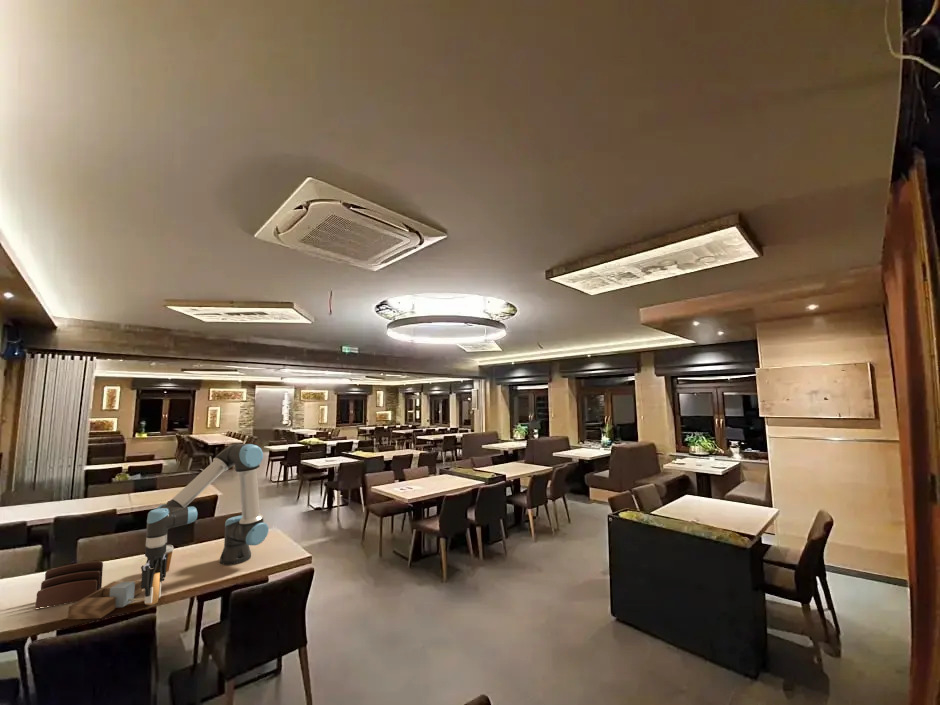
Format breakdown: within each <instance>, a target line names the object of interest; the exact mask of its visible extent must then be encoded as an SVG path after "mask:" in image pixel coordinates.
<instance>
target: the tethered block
mask: <svg viewBox="0 0 940 705" xmlns="http://www.w3.org/2000/svg"><path fill="white" fill-rule="evenodd" d="M133 581H134V582H120V583H118V584H117V585H115V586H113V587H111V588H110V597H116V601H115V608H124V607H125V606H127V605H129V604H130V603H132V602H142V601H143V602H145V597H144V598H143V597H142V598H135V596H134V590H135V581H136V580H133ZM159 581H160V572H155V573H154V578H153V583H152V587H153V598H152V603H151V604H145V606H152V605H155V604H157V603H158V602H159V598H158V597H159Z"/></svg>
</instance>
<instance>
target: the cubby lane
mask: <svg viewBox="0 0 940 705" xmlns="http://www.w3.org/2000/svg"><path fill="white" fill-rule="evenodd" d="M134 581H135V590H134V597H136V596H138V595H139V594H141V593H142V592H143V589H141V580H120V581H118V580H117V581H111V582H110V583H108V584H106V585H105V586H103V587H102V588H101V589H99V590H97V591H95V592H94V593H92V594H90V595H88V596H87V597H85V598H83V599H81V600H79V601H77V602H73V603H72V604H70V605H69V606H68V611H67V620H83V619H102V618H103V617H105V616H107V615H108V614H109V613H111V612H113V611H114V610H115V609H116V607H115V601H116V597H110V588H111V587H113V586H115V585H117V584H118V583H120V582H134ZM137 594H138V595H137Z"/></svg>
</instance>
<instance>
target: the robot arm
mask: <svg viewBox="0 0 940 705" xmlns="http://www.w3.org/2000/svg"><path fill="white" fill-rule="evenodd" d="M263 459H264V452H263V450H262V448H261V447H260V446H259V445H256V444H252V443H240V442H239V443H234V444H231V445H228V447H226V448H224V449H223V450H221V451H220V452H219V453H218V454H217V455H216V456H215V457H214V458H213V459H212V462H211V463H210V464H209V465H208V466H207V467H206V468H205V469H203V470H202V471H201V472H200V473H199V474H198V475H197V476H195V477H194V478H193V479H192V480H191V481H190V482H189V483H188V484H187V485H185V487H184V488H182V489H181V491H179V492H178V493H177V494H176V495H175V496H173V497H172V498H171V499H170V500H169V501H168V502H167V503H164V504H161V505H158V506H157V508H155V509H152V510H150V511H149V512H148V513H147V518H146V536H145V549H144V550H145V551H144V556H145V557H146V559H147V560H146V562H145V564H144V565H141V566H140V569H141V580H140V581H141V589H142V590H144V598H145V601H144V604H145V605H146V604H151V603H152V598H153V587H152V583H153V578H154V573H155V572H160V581H159V597H158V599H160V598H161V593H162V582H165V580H166V579H165V578H166V576H167V572H166V566H167V558H168V555H164V553H165V552H166V545H167V543H168V530H169V529H174V528H177V527H180V526H186V525H188V524H192V523H194V522H195V521H196V520H197V519H198V510H197V508H196V507H195V506H189V504H191V503H192V502H193V501H194V500H195V499H196V498H197V497H198V496H200V495H201V493H202V492H203V491H204V490H206V488H208V486H210V485H211V484H212V483H214V481H215V480H216V479H218V477H220V475H221V474H222V473H224V472H225V471H228V470H229V469H231V468H232V467H234V470H235V473H237V474H238V479H239V480H238V481H239V492H240V506H241V507H240V508H241V515H237V516H232V517H229V518H227V519H226V520H225V523H224V542H223V543H224V546H223V549H222V552H221V555H220V557H219V564H220V565H223V566H231V565H233V566H234V565H238V564H242V563H245V562H247V561H249V560H250V559H251V557H252V550H251V548H250V546H259V545H260V544H262V543H263V542H264V541H265V540H266V538H268V537H267V536H268V535H269V526H268V524H267V523H265V520H264V515H263V514H261V510H260V495H259V485H258V484H259V482H258V470H259V469H260V467H261V465H260V464H261V463H262V461H263ZM153 568H154V569H153Z"/></svg>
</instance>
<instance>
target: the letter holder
mask: <svg viewBox="0 0 940 705" xmlns="http://www.w3.org/2000/svg"><path fill="white" fill-rule="evenodd" d="M103 569H104V563H103V561H99V560H98V561H84V562H79V563H72V564H67V565H63V566H58V567H54V568H51V569H48V570H46V572H45V575H44V576H45V577H44V580H42V582H41V583H40V584H41V585H40V590H38V591H37V593H36V598H35V608H40V607H47V606H52V607H55V606H54V605H57V606H60V605H59V604H62V605H65V604H64V603H67V604H71V603H70V602H72V603H76V602H75V601H77V602H78V601H79V600H81V599H83V598H85V597H87V596H88V595H90V594H92V593H94V592H95V591H97V590H99V589H101V588H103V587H102V584H103V571H104V570H103ZM47 608H48V607H47Z"/></svg>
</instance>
